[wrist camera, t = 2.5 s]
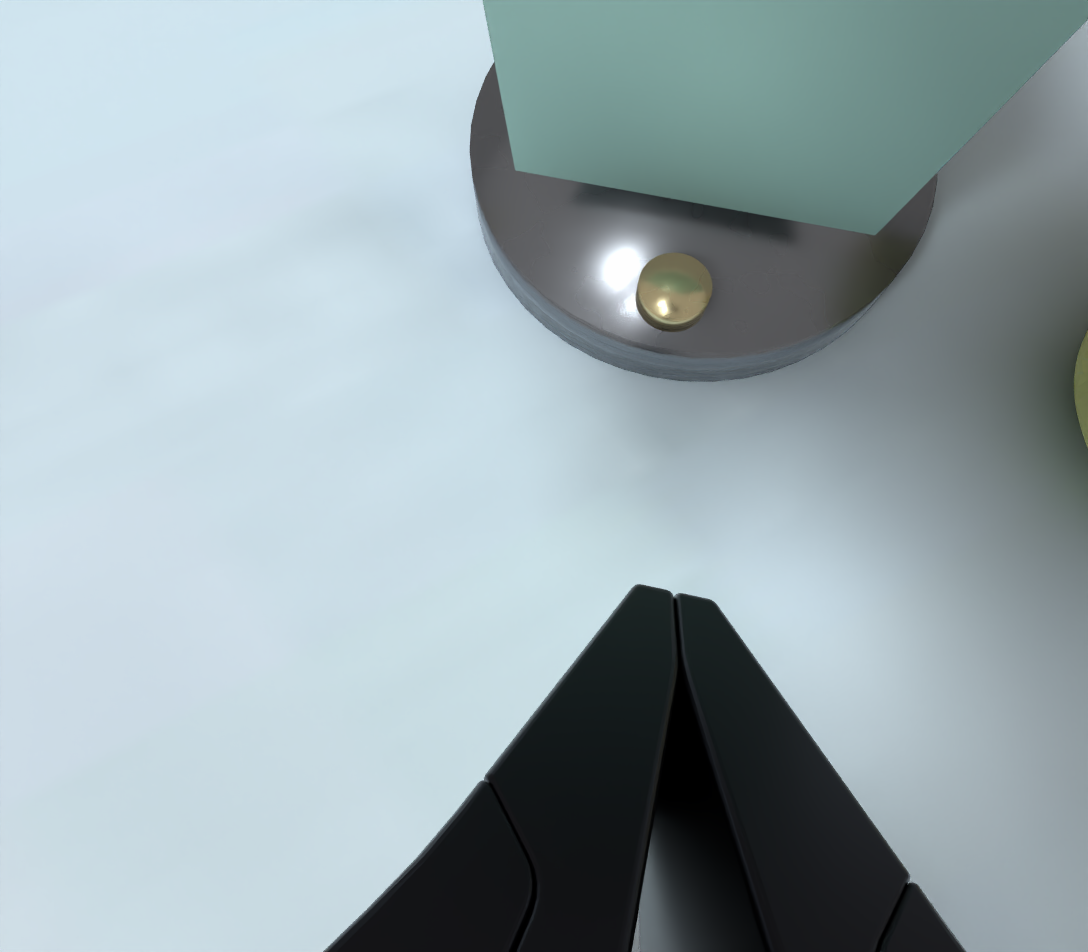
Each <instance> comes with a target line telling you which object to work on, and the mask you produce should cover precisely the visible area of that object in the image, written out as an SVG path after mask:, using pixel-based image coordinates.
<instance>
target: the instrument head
mask: <svg viewBox="0 0 1088 952" xmlns="http://www.w3.org/2000/svg"><path fill="white" fill-rule="evenodd" d="M483 5H484V10H485V15H486V20H487V25H488V31H489V36H490V41H491V46H492V52H493V57H494V62H495V67H496V73H497V78H498V83H499V88H500V93H501V99H502V104H503V109H504V114H505V120H506V125H507V130H508V135H509V140H510V146H511V151H512V156H513V161H514V167H515V170H516V171H522V172H527V173H533V174H538V175H544V176H549V177H555V178H560V179H566V180H571V181H577V182H582V183H588V184H593V185H599V186H605V187H610V188H616V189H621V190H627V191H632V192H638V193H643V194H649V195H654V196H660V197H665V198H671V199H677V200H682V201H688V202H693V203H699V204H704V205H710V206H715V207H721V208H726V209H732V210H737V211H743V212H748V213H754V214H760V215H765V216H771V217H776V218H782V219H787V220H793V221H798V222H804V223H809V224H815V225H820V226H826V227H832V228H837V229H843V230H848V231H854V232H859V233H865V234H870V235H876V234H877V233H878V232H879V231H880V230H881V229H882V228H883V227H884V226H885V225H886V224H887V223H888V222H889V221H890V220H891V219H892V218H893V217H894V216H895V215H896V214H897V213H898V212H899V211H900V210H901V209H902V208H903V207H904V206H905V205H906V204H907V203H908V202H909V201H910V200H911V199H912V198H913V197H914V196H915V195H916V193H917V192H918V191H919V190H920V189H921V188H922V187H923V186H924V185H925V184H926V183H927V182H928V181H929V180H930V179H931V178H932V177H933V176H934V175H935V174H936V173H937V172H938V171H939V170H940V169H941V168H942V167H943V166H944V165H945V164H946V163H947V162H948V161H949V160H950V159H951V158H952V157H953V156H954V155H955V154H956V153H957V152H958V151H959V150H960V149H961V148H962V147H963V146H964V145H965V144H966V143H967V142H968V141H969V140H970V139H971V138H972V137H973V136H974V135H975V134H976V133H977V132H978V131H979V130H980V128H981V127H982V126H983V125H984V124H985V123H986V122H987V121H988V120H989V119H990V118H991V117H992V116H993V115H994V114H995V113H996V112H997V111H998V110H999V109H1000V108H1001V107H1002V106H1003V105H1004V104H1005V103H1006V102H1007V101H1008V100H1009V99H1010V98H1011V97H1012V96H1013V95H1014V94H1015V93H1016V92H1017V91H1018V90H1019V89H1020V88H1021V87H1022V86H1023V85H1024V84H1025V83H1026V82H1027V81H1028V80H1029V79H1030V78H1031V77H1032V76H1033V75H1034V74H1035V73H1036V72H1037V71H1038V70H1039V69H1040V68H1041V67H1042V66H1043V64H1044V63H1045V62H1046V61H1047V60H1048V59H1049V58H1050V57H1051V56H1052V55H1053V54H1054V53H1055V52H1056V51H1057V50H1058V49H1059V48H1060V47H1061V46H1062V45H1063V44H1064V43H1065V42H1066V41H1067V40H1068V39H1069V38H1070V37H1071V36H1072V35H1073V34H1074V33H1075V32H1076V31H1077V30H1078V29H1079V28H1080V27H1081V26H1082V25H1083V24H1084V23H1085V22H1086V21H1087V20H1088V0H483Z"/></svg>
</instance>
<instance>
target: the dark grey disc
mask: <svg viewBox="0 0 1088 952" xmlns="http://www.w3.org/2000/svg"><path fill="white" fill-rule="evenodd" d="M470 158H471V168H472V178H473V184H474V191H475V197H476V203H477V210H478V216H479V221H480V225H481V228H482V232H483V236H484V240H485V243H486V245H487V248H488V250H489V252H490V255H491V257H492V260H493V262H494V264H495V266H496V268H497V269H498V271H499V273H500V274H501V276H502V278H503V279H504V281H505V283H506V284H507V286H508V287H509V289H510V290H511V291H512V292H513V294H514V295H515V296H516V297H517V299H518V300H519V301H520V302H521V303H522V305H523V306H524V307H525V308H526V309H527V310H528V311H529V312H530V313H531V314H532V315H533V316H534V317H535V318H536V319H537V320H538V321H540V322H541V323H542V324H543V325H544V326H545V327H546V328H547V329H549V330H550V331H552V332H553V333H554V334H556V335H557V336H559V337H560V338H561V339H563V340H564V341H565V342H567V343H568V344H570V345H572V346H573V347H575V348H577V349H579V350H581V351H583V352H585V353H586V354H588V355H590V356H592V357H594V358H596V359H598V360H601V361H603V362H606V363H608V364H611V365H614V366H616V367H619V368H621V369H624V370H628V371H632V372H636V373H639V374H643V375H647V376H651V377H657V378H664V379H672V380H679V381H721V380H731V379H740V378H746V377H750V376H754V375H759V374H763V373H767V372H771V371H774V370H777V369H780V368H782V367H785V366H788V365H790V364H793V363H796V362H798V361H800V360H802V359H804V358H806V357H808V356H810V355H812V354H813V353H815V352H817V351H819V350H821V349H823V348H824V347H826V346H827V345H829V344H830V343H831V342H833V341H834V340H835V339H837V338H838V337H840V336H841V335H842V334H844V333H845V332H846V331H847V330H848V329H849V328H851V327H852V326H853V325H854V324H855V323H856V322H857V321H858V320H859V319H860V318H861V317H862V316H863V315H864V314H865V313H866V312H867V310H868V309H869V308H870V307H871V306H872V305H873V303H874V302H875V301H876V300H877V299H878V297H879V296H880V295H881V294H882V293H883V291H884V290H885V289H886V288H887V287H888V285H889V284H890V283H891V282H892V281H893V279H894V278H895V277H896V276H897V274H898V273H899V272H900V270H901V269H902V268H903V266H904V265H905V264H906V262H907V261H908V260H909V258H910V257H911V256H912V254H913V252H914V250H915V248H916V246H917V244H918V242H919V241H920V239H921V237H922V235H923V233H924V231H925V228H926V225H927V222H928V219H929V216H930V213H931V210H932V207H933V202H934V196H935V190H936V184H937V173H936V174H935V175H934V176H933V177H932V178H931V179H930V180H929V181H928V182H927V183H926V184H925V185H924V186H923V187H922V188H921V189H920V190H919V191H918V192H917V193H916V195H915V196H914V197H913V198H912V199H911V200H910V201H909V202H908V203H907V204H906V205H905V206H904V207H903V208H902V209H901V210H900V211H899V212H898V213H897V214H896V215H895V216H894V217H893V218H892V219H891V220H890V221H889V222H888V223H887V224H886V225H885V226H884V227H883V228H882V229H881V230H880V231H879V232H878V233H877V234H876V235H870V234H865V233H859V232H854V231H848V230H843V229H837V228H832V227H826V226H820V225H815V224H809V223H804V222H798V221H793V220H787V219H782V218H776V217H771V216H765V215H760V214H754V213H748V212H743V211H737V210H732V209H726V208H721V207H715V206H710V205H704V204H699V203H693V202H688V201H682V200H677V199H671V198H665V197H660V196H654V195H649V194H643V193H638V192H632V191H627V190H621V189H616V188H610V187H605V186H599V185H593V184H588V183H582V182H577V181H571V180H566V179H560V178H555V177H549V176H544V175H538V174H533V173H527V172H522V171H516V170H515V167H514V161H513V156H512V151H511V146H510V140H509V135H508V130H507V125H506V120H505V114H504V109H503V104H502V99H501V93H500V88H499V83H498V78H497V73H496V67H495V62H494V63H493V65H492V67H491V68H490V70H489V72H488V74H487V76H486V77H485V80H484V82H483V85H482V88H481V90H480V93H479V96H478V98H477V101H476V105H475V110H474V115H473V119H472V124H471V137H470Z"/></svg>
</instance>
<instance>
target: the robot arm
mask: <svg viewBox="0 0 1088 952" xmlns="http://www.w3.org/2000/svg"><path fill="white" fill-rule="evenodd" d="M909 880H910V874H909V873H908V871H907V870H906V868H905V867H904V866H903V864H902V863H901V861H900V860H899V859H898V857H897V856H896V854H895V853H894V852H893V850H892V849H891V847H890V846H889V845H888V843H887V842H886V840H885V839H884V838H883V836H882V835H881V833H880V832H879V831H878V829H877V828H876V826H875V825H874V824H873V822H872V821H871V819H870V818H869V817H868V815H867V814H866V812H865V811H864V810H863V808H862V807H861V805H860V804H859V803H858V801H857V800H856V798H855V797H854V796H853V794H852V793H851V791H850V790H849V789H848V787H847V786H846V784H845V783H844V782H843V780H842V779H841V777H840V776H839V775H838V773H837V772H836V770H835V769H834V768H833V766H832V765H831V763H830V762H829V761H828V759H827V758H826V756H825V755H824V754H823V752H822V751H821V749H820V748H819V747H818V745H817V744H816V742H815V741H814V740H813V738H812V737H811V735H810V734H809V733H808V731H807V730H806V728H805V727H804V726H803V724H802V723H801V721H800V720H799V719H798V717H797V716H796V714H795V713H794V712H793V710H792V709H791V707H790V706H789V705H788V703H787V702H786V700H785V699H784V698H783V696H782V695H781V693H780V692H779V691H778V689H777V688H776V686H775V685H774V684H773V682H772V681H771V680H770V678H769V677H768V675H767V674H766V673H765V671H764V670H763V668H762V667H761V666H760V664H759V663H758V661H757V660H756V659H755V657H754V656H753V654H752V653H751V652H750V650H749V649H748V647H747V646H746V645H745V643H744V642H743V640H742V639H741V638H740V636H739V635H738V633H737V632H736V631H735V629H734V628H733V626H732V625H731V624H730V622H729V621H728V619H727V618H726V617H725V615H724V614H723V612H722V611H721V610H720V608H719V607H718V605H717V604H716V603H715V602H714V601H712V600H710V599H706V598H702V597H697V596H692V595H688V594H683V593H678V594H676V595H675V596H674V597H673V594H672V593H671V592H670V591H668V590H664V589H660V588H655V587H651V586H646V585H641V584H637V585H635V586H634V587H633V588H632V589H631V590H630V591H629V592H628V594H627V595H626V596H625V598H624V599H623V600H622V601H621V603H620V604H619V605H618V607H617V608H616V609H615V610H614V612H613V613H612V614H611V615H610V617H609V618H608V619H607V621H606V622H605V623H604V624H603V626H602V627H601V628H600V629H599V631H598V632H597V633H596V635H595V636H594V637H593V638H592V640H591V641H590V642H589V643H588V645H587V646H586V647H585V649H584V650H583V651H582V652H581V654H580V655H579V656H578V657H577V659H576V660H575V661H574V663H573V664H572V665H571V666H570V668H569V669H568V670H567V672H566V673H565V674H564V675H563V677H562V678H561V679H560V680H559V682H558V683H557V684H556V686H555V687H554V688H553V689H552V691H551V692H550V693H549V694H548V696H547V697H546V698H545V700H544V701H543V702H542V703H541V705H540V706H539V707H538V708H537V710H536V711H535V712H534V714H533V715H532V716H531V717H530V719H529V720H528V721H527V723H526V724H525V725H524V726H523V728H522V729H521V730H520V731H519V733H518V734H517V735H516V737H515V738H514V739H513V740H512V742H511V743H510V744H509V745H508V747H507V748H506V749H505V751H504V752H503V753H502V754H501V756H500V757H499V758H498V759H497V761H496V762H495V763H494V765H493V766H492V767H491V768H490V770H489V771H488V772H487V773H486V775H485V777H484V781H480V782H479V783H478V784H477V785H476V787H475V788H474V789H473V791H472V792H471V793H470V794H469V796H468V797H467V798H466V799H465V801H464V802H463V803H462V805H461V806H460V807H459V808H458V810H457V811H456V812H455V813H454V814H453V816H452V817H451V818H450V819H449V820H448V822H447V823H446V824H445V825H444V826H443V827H442V829H441V830H440V831H439V832H438V833H437V835H436V836H435V837H434V838H433V839H432V840H431V842H430V843H429V844H428V845H427V846H426V848H425V849H424V850H423V851H422V852H421V853H420V855H419V856H418V857H417V858H416V859H415V860H414V861H413V862H412V863H411V864H410V865H409V866H408V867H407V868H406V869H405V870H404V871H403V873H402V874H401V875H400V876H399V877H398V878H397V879H396V880H395V881H394V882H393V883H392V884H391V885H390V886H389V887H388V888H387V889H386V890H385V891H384V892H383V893H382V894H381V895H380V896H379V897H378V898H377V899H376V900H375V901H374V902H373V904H372V905H371V906H370V907H369V908H368V909H367V910H366V911H365V912H364V913H363V914H362V915H360V916H359V917H358V918H357V919H356V920H355V921H354V922H353V923H352V924H351V925H350V926H349V927H348V928H347V929H346V930H345V931H344V932H343V933H342V934H341V935H340V936H339V937H338V938H337V939H336V940H335V941H334V942H333V943H332V944H331V945H330V946H329V947H328V948H326V949H325V950H324V951H323V952H632V946H633V940H634V934H635V928H636V922H637V916H638V911H639V939H640V952H966V951H965V949H964V948H963V947H962V945H961V944H960V943H959V941H958V940H957V939H956V937H955V936H954V935H953V933H952V932H951V931H950V929H949V928H948V926H947V925H946V924H945V922H944V921H943V919H942V918H941V917H940V915H939V914H938V913H937V911H936V910H935V908H934V907H933V906H932V904H931V903H930V901H929V900H928V899H927V897H926V896H925V894H924V893H923V892H922V890H921V889H920V887H919V886H918V885H917V884H916V883H909V884H908V882H909ZM907 884H908V885H907Z"/></svg>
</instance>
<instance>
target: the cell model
mask: <svg viewBox="0 0 1088 952" xmlns="http://www.w3.org/2000/svg"><path fill="white" fill-rule="evenodd" d="M1074 397H1075V406H1076V412H1077V416H1078V420H1079V424H1080V427H1081V431H1082V434H1083V437H1084V440H1085V443H1086V446H1087V448H1088V330H1087V332H1086V334H1085V337H1084V339H1083V342H1082V344H1081V346H1080V349H1079V352H1078V356H1077V361H1076V365H1075V374H1074Z"/></svg>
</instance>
